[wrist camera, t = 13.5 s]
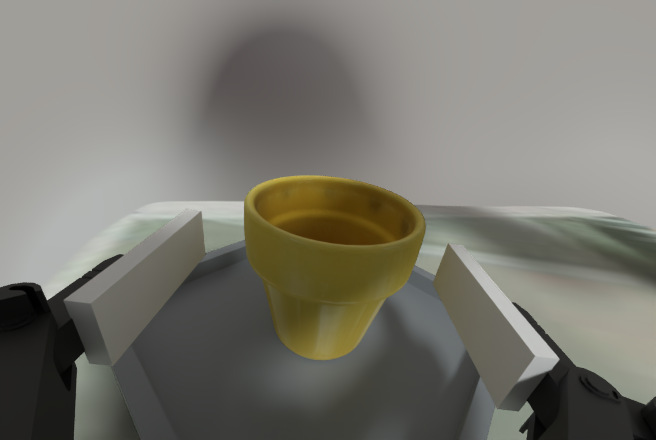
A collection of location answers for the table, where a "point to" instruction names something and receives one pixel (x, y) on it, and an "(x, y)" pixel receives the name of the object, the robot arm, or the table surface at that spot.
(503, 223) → the table surface
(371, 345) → the tray
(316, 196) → the plant pot
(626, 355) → the table surface
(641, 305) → the table surface
